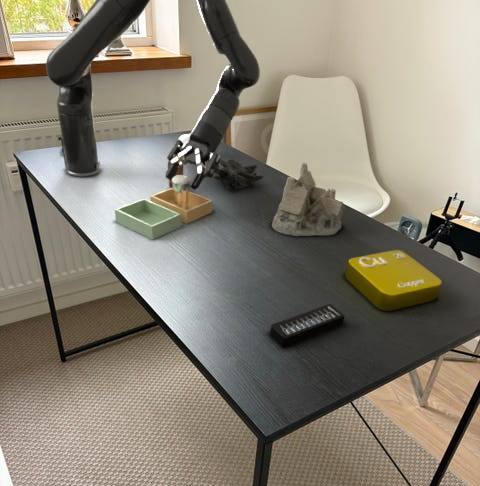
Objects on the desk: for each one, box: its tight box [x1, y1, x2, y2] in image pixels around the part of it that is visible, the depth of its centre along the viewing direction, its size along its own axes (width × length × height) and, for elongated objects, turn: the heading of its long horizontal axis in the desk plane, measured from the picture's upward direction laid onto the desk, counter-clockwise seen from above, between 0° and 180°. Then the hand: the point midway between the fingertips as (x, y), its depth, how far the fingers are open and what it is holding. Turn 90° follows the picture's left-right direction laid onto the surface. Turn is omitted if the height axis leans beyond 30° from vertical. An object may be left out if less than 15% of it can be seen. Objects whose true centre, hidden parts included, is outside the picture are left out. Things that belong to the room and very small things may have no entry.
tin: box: [167, 154, 184, 189], centre depth 142 cm, size 15×3×8 cm, turn 179°
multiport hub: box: [269, 303, 346, 348], centre depth 91 cm, size 4×14×2 cm, turn 122°
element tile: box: [344, 249, 443, 312], centre depth 104 cm, size 15×15×5 cm
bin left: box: [114, 198, 182, 240], centre depth 121 cm, size 13×10×3 cm
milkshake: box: [172, 168, 191, 210], centre depth 127 cm, size 4×5×10 cm
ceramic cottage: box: [271, 162, 346, 237], centre depth 122 cm, size 16×16×15 cm
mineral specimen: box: [213, 158, 264, 191], centre depth 143 cm, size 15×13×10 cm
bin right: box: [149, 187, 213, 224], centre depth 129 cm, size 13×10×3 cm
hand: (179, 183), depth 125 cm, fingers open, 8 cm apart
